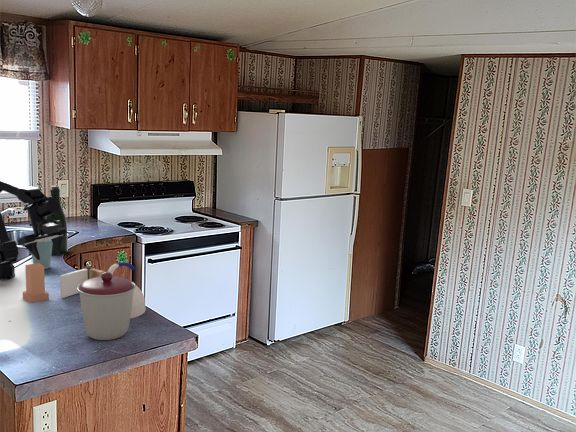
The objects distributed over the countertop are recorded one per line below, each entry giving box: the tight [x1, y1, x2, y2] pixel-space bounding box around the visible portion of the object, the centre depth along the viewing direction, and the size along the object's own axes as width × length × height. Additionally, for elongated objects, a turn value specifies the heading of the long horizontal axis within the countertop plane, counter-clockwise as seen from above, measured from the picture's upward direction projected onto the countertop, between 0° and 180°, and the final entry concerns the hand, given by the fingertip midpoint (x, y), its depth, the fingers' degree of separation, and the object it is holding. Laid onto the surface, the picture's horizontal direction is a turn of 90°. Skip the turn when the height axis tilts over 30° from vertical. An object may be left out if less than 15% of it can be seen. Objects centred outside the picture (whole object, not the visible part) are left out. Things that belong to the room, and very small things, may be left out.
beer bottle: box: [45, 185, 69, 256], centre depth 279 cm, size 10×10×33 cm
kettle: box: [107, 261, 147, 320], centre depth 209 cm, size 20×21×18 cm
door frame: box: [85, 264, 105, 279], centre depth 232 cm, size 22×2×10 cm, turn 61°
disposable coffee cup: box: [30, 234, 53, 270], centre depth 256 cm, size 11×11×15 cm
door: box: [59, 268, 88, 298], centre depth 224 cm, size 12×3×9 cm, turn 151°
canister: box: [77, 271, 137, 341], centre depth 187 cm, size 18×18×21 cm
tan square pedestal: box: [22, 263, 50, 304], centre depth 217 cm, size 7×7×13 cm
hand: (49, 257), depth 228 cm, fingers open, 9 cm apart
